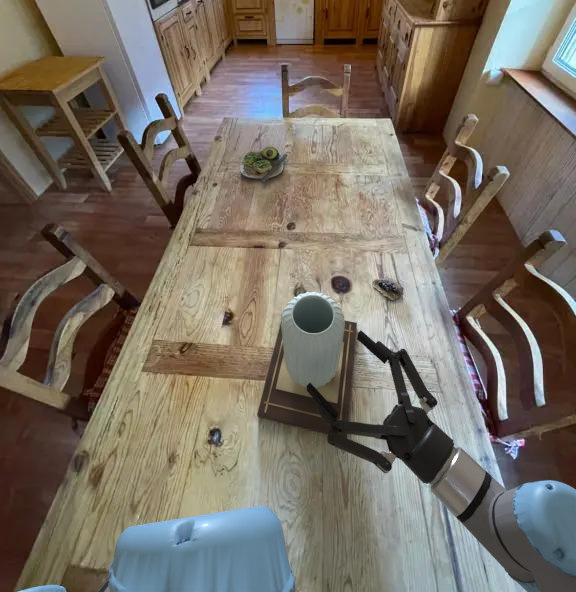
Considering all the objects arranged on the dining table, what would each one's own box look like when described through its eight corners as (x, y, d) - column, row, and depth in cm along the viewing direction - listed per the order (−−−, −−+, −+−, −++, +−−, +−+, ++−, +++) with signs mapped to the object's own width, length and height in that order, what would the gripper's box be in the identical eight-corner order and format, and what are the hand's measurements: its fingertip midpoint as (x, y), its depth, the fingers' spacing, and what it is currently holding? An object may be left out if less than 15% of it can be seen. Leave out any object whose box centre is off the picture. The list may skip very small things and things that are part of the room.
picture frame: (346, 439, 66) (346, 437, 65) (257, 417, 70) (256, 414, 68) (356, 325, 83) (357, 322, 82) (284, 311, 86) (284, 308, 85)
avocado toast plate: (285, 185, 122) (285, 175, 119) (236, 185, 123) (234, 175, 120) (288, 153, 136) (287, 143, 132) (243, 154, 137) (242, 144, 133)
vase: (291, 398, 70) (287, 353, 55) (281, 344, 78) (275, 292, 63) (344, 385, 72) (355, 337, 56) (328, 334, 80) (334, 280, 64)
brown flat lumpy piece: (398, 305, 86) (399, 301, 85) (367, 292, 89) (368, 288, 88) (405, 285, 91) (406, 281, 89) (376, 273, 94) (377, 269, 92)
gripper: (387, 545, 47) (285, 418, 59) (474, 408, 59) (374, 324, 71) (397, 543, 42) (283, 404, 54) (490, 394, 54) (379, 306, 65)
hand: (334, 359), depth 62 cm, fingers open, 13 cm apart
